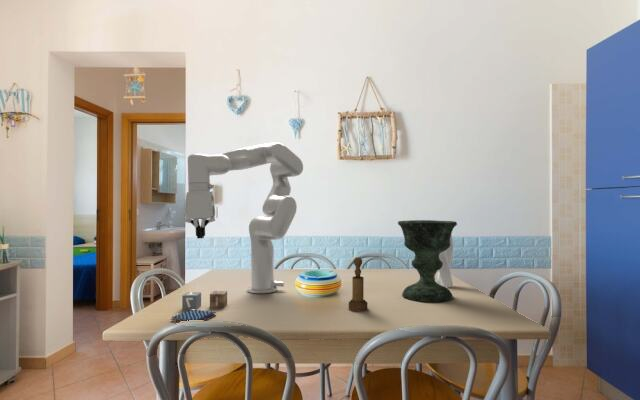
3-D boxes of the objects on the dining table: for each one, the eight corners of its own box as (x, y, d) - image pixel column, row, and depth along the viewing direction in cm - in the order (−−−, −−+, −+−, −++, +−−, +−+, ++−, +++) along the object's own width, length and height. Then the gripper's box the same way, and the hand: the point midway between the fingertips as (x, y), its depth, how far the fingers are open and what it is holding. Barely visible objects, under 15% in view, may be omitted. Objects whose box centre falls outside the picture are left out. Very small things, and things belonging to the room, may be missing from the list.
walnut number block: (227, 304, 140) (227, 290, 140) (223, 308, 134) (223, 293, 134) (213, 304, 139) (213, 290, 140) (209, 308, 134) (209, 293, 134)
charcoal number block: (201, 306, 137) (201, 291, 138) (196, 310, 132) (196, 295, 132) (187, 306, 138) (187, 291, 138) (182, 310, 132) (182, 295, 132)
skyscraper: (443, 284, 175) (442, 223, 176) (457, 287, 168) (457, 224, 169) (430, 286, 171) (429, 224, 171) (444, 289, 164) (443, 225, 164)
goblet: (402, 289, 164) (401, 219, 164) (457, 293, 156) (457, 220, 157) (393, 301, 143) (393, 222, 144) (457, 306, 136) (456, 222, 136)
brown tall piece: (355, 312, 128) (354, 259, 129) (345, 308, 134) (344, 257, 134) (371, 310, 131) (370, 258, 132) (360, 305, 137) (360, 255, 137)
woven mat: (190, 314, 129) (190, 308, 129) (217, 317, 125) (217, 311, 125) (168, 323, 119) (168, 316, 119) (197, 326, 115) (197, 320, 115)
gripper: (222, 187, 143) (223, 236, 143) (181, 188, 142) (183, 237, 143) (217, 187, 136) (218, 238, 136) (175, 188, 135) (176, 239, 135)
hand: (200, 237), depth 139 cm, fingers closed
